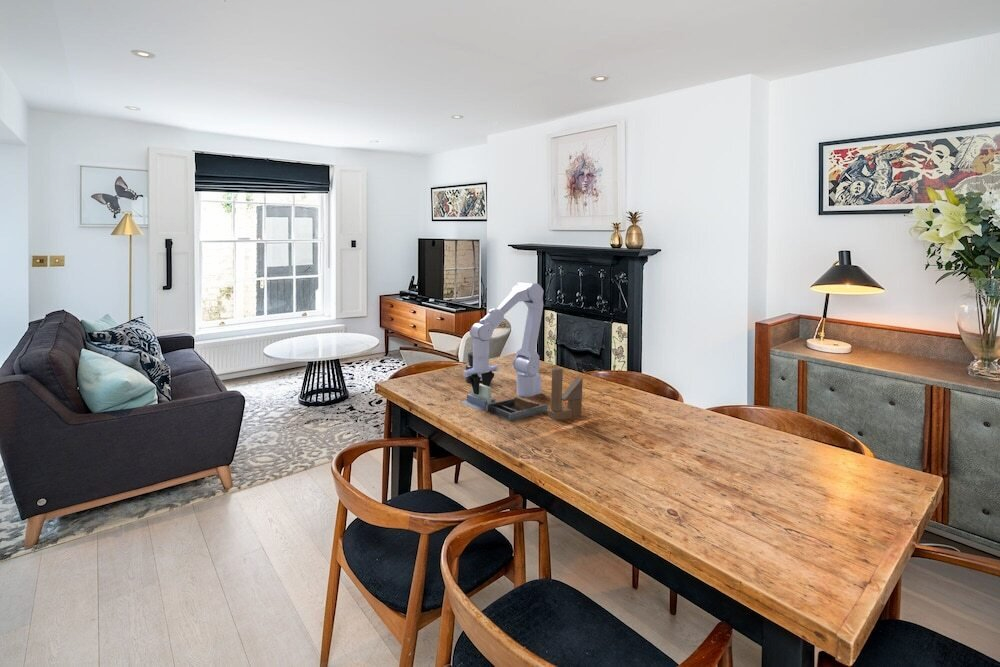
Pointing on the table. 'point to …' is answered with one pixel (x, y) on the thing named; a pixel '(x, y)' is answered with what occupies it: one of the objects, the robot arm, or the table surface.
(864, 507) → the table surface
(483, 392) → the pale green slab
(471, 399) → the sheet stand
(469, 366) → the ink bottle
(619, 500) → the table surface
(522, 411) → the slotted rack
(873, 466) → the table surface
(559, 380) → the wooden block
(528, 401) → the offcut stack
